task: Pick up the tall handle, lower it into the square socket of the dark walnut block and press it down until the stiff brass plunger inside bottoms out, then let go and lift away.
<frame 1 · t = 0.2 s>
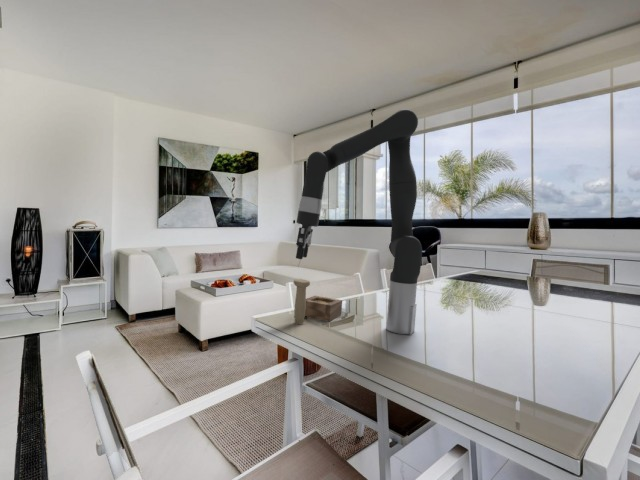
hand: (301, 257, 115), 23 cm above the table, tool pointing down, fingers open, 8 cm apart
press block: (321, 315, 129), on the table
handle: (299, 323, 117), on the table
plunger: (322, 304, 129), point 5 cm above the table, slide at 0.0 cm
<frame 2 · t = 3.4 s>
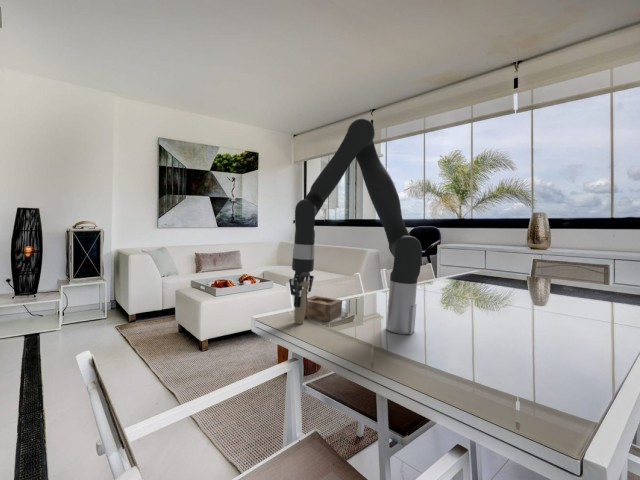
hand: (300, 305, 117), 6 cm above the table, tool pointing down, fingers closed on handle, 4 cm apart
handle: (299, 323, 117), on the table, touching gripper
everything else where it was.
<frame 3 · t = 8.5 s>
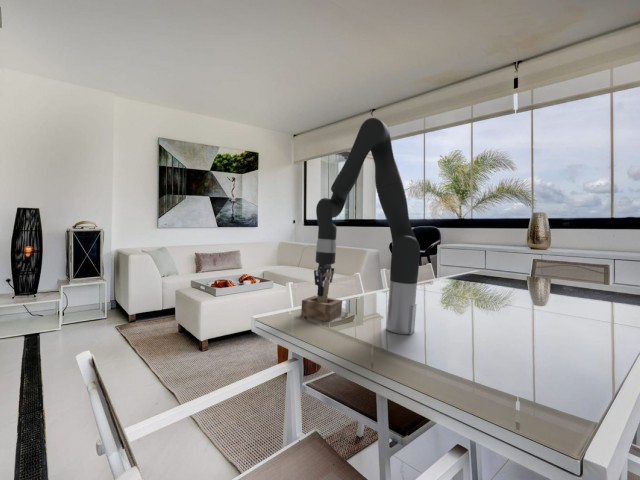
hand: (322, 294, 128), 8 cm above the table, tool pointing down, fingers closed on handle, 4 cm apart
handle: (321, 311, 129), point 2 cm above the table, touching gripper, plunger
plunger: (321, 311, 129), point 1 cm above the table, slide at 3.0 cm, touching handle, press block
when the fingers open (8 cm above the table, at t = 9.5 s): handle stays where it is, resting on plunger.
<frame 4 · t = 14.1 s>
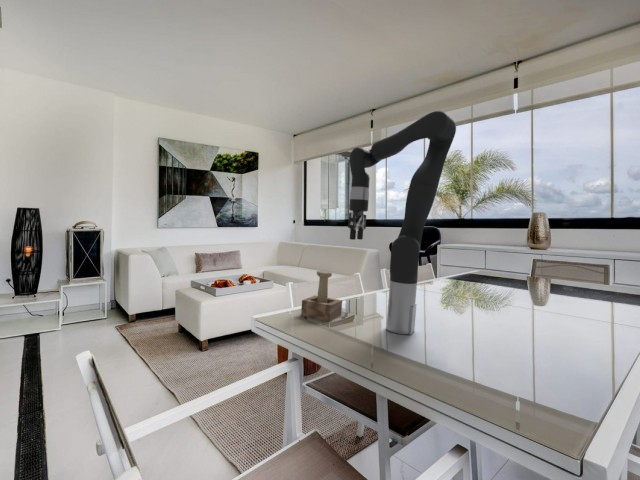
hand: (356, 239, 134), 30 cm above the table, tool pointing down, fingers open, 8 cm apart
handle: (321, 310, 129), point 2 cm above the table, touching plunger
everything else where it was.
at the end: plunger slide at 3.0 cm; handle 0.1 cm off-centre on the press block, point 1.8 cm above the press block's base; handle tilted 0° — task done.
